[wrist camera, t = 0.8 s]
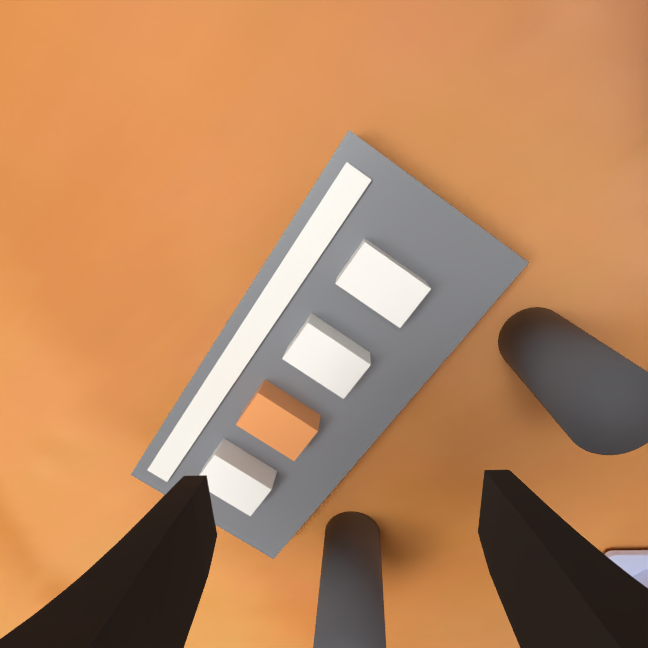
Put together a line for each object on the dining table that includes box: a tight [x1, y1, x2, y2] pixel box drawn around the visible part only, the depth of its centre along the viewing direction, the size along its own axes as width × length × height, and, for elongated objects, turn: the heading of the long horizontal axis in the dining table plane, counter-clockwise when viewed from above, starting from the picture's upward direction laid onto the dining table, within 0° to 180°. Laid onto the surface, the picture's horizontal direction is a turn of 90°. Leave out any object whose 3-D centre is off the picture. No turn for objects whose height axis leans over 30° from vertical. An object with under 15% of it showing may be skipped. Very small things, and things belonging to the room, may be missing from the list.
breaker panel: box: [131, 130, 529, 559], centre depth 20 cm, size 20×9×3 cm, turn 146°
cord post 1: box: [313, 512, 386, 648], centre depth 22 cm, size 3×3×7 cm
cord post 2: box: [498, 307, 648, 455], centre depth 17 cm, size 3×3×7 cm
